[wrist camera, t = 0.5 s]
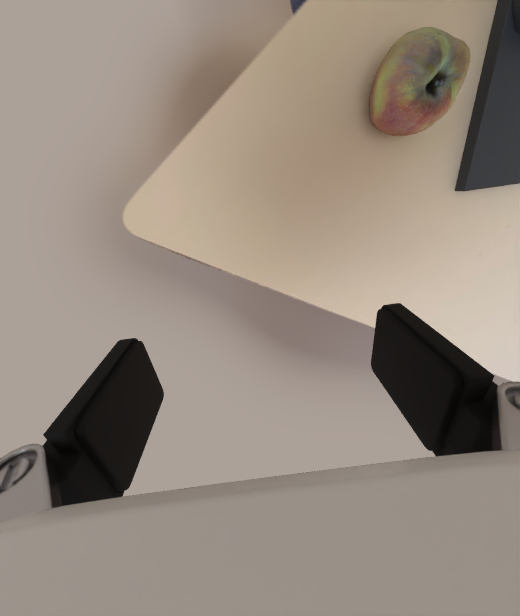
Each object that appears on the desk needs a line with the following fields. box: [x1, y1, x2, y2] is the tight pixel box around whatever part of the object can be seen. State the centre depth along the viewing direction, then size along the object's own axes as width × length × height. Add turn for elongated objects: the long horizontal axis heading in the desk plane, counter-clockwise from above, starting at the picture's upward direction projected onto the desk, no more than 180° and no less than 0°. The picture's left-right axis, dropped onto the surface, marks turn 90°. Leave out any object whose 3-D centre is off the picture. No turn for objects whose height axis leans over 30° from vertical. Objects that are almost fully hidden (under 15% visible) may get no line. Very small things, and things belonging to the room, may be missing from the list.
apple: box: [369, 27, 470, 136], centre depth 18 cm, size 6×8×6 cm
